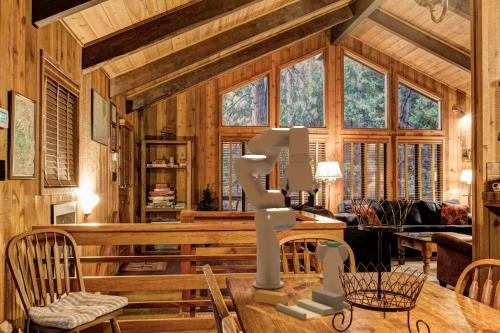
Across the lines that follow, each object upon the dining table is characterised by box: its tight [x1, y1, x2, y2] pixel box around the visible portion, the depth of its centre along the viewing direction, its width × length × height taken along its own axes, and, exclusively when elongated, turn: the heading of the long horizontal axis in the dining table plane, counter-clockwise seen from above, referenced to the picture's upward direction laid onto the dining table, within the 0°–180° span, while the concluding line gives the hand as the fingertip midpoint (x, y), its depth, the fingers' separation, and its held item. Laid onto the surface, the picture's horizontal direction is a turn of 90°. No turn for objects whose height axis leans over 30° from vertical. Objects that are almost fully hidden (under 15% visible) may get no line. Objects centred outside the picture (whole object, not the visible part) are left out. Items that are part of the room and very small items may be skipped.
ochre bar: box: [254, 289, 289, 306], centre depth 164 cm, size 11×4×4 cm, turn 57°
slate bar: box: [311, 288, 344, 311], centre depth 158 cm, size 11×4×4 cm, turn 32°
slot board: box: [275, 298, 351, 321], centre depth 155 cm, size 14×21×3 cm, turn 122°
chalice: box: [316, 241, 349, 280], centre depth 209 cm, size 14×14×15 cm
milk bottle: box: [322, 241, 345, 296], centre depth 177 cm, size 8×8×20 cm
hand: (299, 207), depth 172 cm, fingers open, 9 cm apart
